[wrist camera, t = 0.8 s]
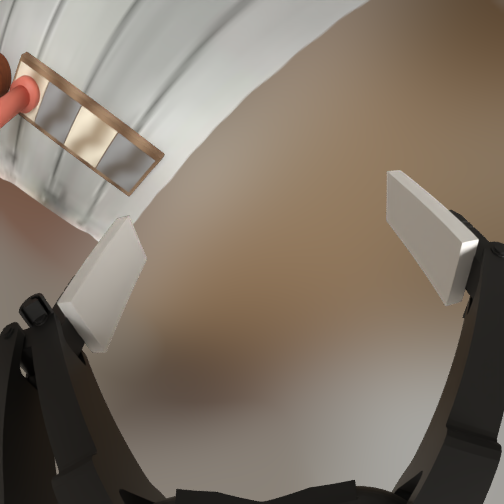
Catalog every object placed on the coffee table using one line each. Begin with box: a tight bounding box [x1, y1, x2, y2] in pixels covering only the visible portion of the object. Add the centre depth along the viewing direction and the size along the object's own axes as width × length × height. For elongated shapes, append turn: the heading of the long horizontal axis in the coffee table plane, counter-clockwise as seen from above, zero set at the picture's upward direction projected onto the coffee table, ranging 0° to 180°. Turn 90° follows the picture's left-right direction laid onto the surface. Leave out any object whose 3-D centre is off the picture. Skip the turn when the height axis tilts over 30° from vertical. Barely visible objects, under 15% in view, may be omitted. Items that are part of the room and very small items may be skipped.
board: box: [13, 52, 165, 196], centre depth 40 cm, size 33×12×2 cm, turn 45°
